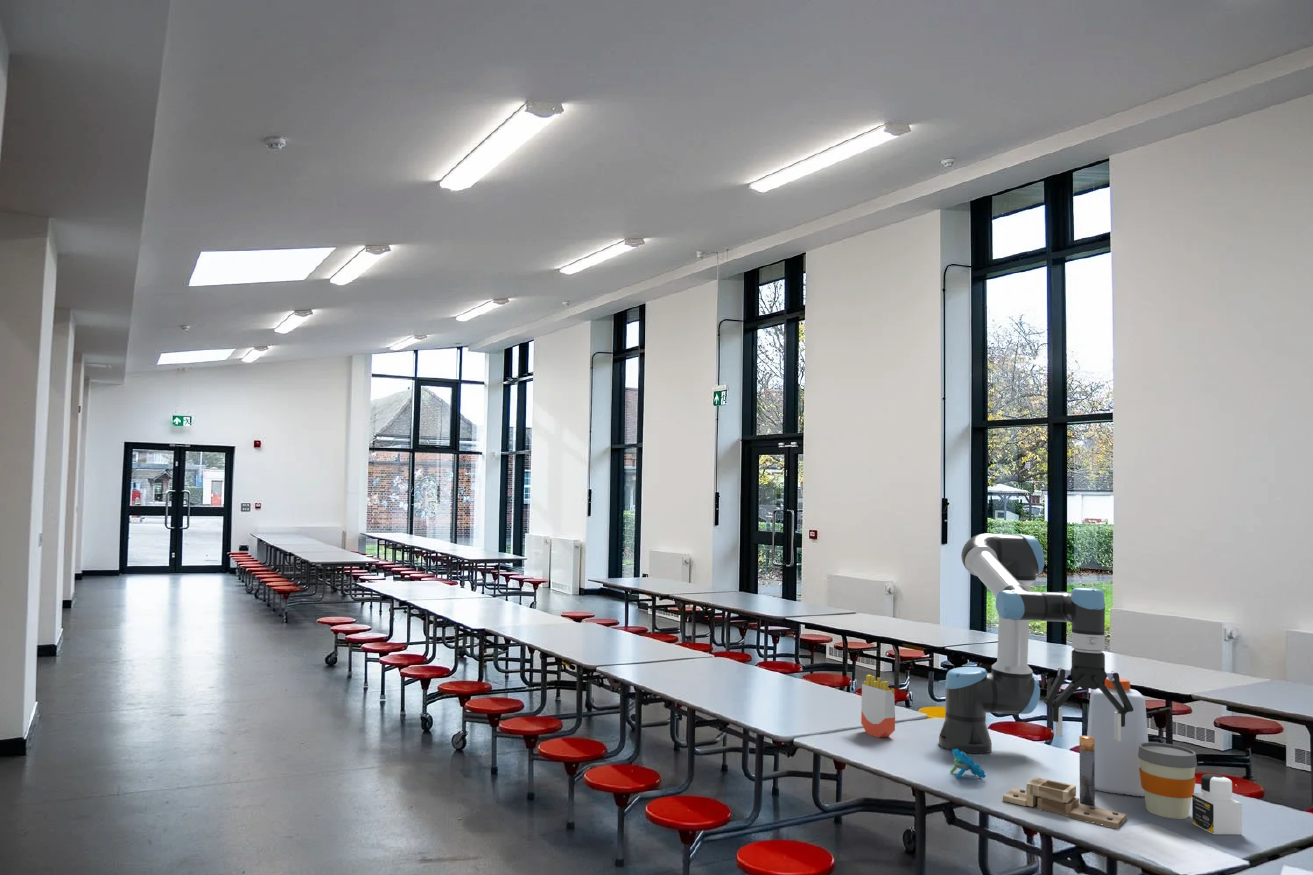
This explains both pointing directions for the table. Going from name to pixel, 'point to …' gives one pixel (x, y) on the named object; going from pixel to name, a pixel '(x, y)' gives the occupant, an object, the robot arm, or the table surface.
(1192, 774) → the reusable coffee cup
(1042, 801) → the wooden mounting plate
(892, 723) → the french fries container
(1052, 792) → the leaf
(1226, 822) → the medicine bottle
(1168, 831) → the table surface
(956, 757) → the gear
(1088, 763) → the pin
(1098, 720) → the plastic bottle
